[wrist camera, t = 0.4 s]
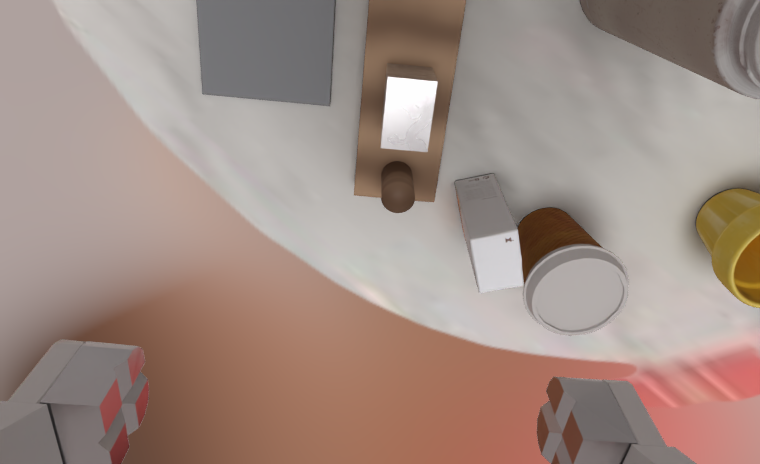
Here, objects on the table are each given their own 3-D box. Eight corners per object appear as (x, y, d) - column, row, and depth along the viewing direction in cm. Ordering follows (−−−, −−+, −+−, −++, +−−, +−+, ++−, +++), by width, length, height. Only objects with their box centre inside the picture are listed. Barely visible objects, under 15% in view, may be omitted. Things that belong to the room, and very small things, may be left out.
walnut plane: (371, -30, 47) (370, -23, 40) (464, -21, 47) (478, -12, 40) (355, 182, 56) (351, 218, 49) (431, 189, 57) (438, 226, 50)
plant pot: (800, 184, 56) (875, 230, 48) (742, 265, 61) (800, 320, 53) (712, 159, 55) (773, 201, 47) (660, 244, 60) (706, 296, 51)
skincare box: (452, 180, 56) (468, 238, 46) (493, 172, 56) (519, 228, 45) (461, 230, 59) (478, 295, 49) (500, 222, 59) (526, 286, 48)
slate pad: (195, -49, 46) (193, -49, 46) (337, -34, 47) (336, -33, 46) (204, 92, 52) (202, 94, 51) (330, 104, 52) (329, 106, 52)
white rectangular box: (387, 63, 48) (387, 76, 43) (432, 67, 48) (437, 81, 43) (380, 129, 51) (380, 148, 46) (423, 133, 51) (427, 152, 46)
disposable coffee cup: (602, 201, 57) (652, 262, 47) (571, 275, 62) (609, 346, 52) (516, 186, 57) (546, 245, 46) (490, 262, 61) (512, 331, 51)
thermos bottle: (675, -80, 45) (1025, -89, 20) (671, 21, 49) (963, 114, 24) (576, -56, 46) (800, -37, 21) (580, 41, 50) (774, 151, 25)
